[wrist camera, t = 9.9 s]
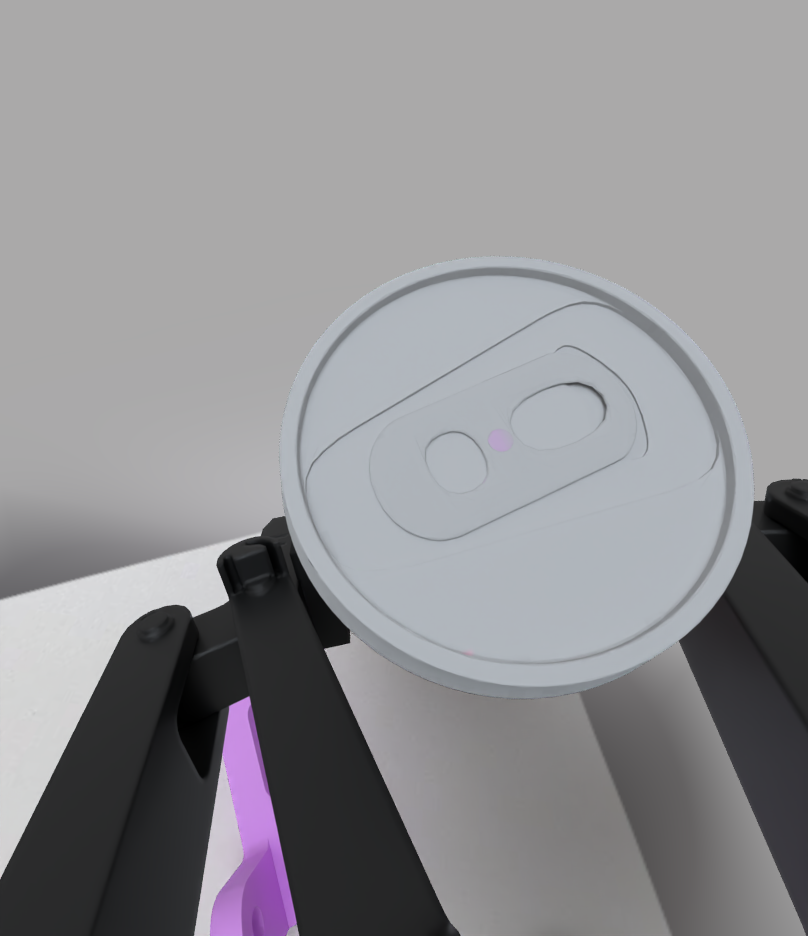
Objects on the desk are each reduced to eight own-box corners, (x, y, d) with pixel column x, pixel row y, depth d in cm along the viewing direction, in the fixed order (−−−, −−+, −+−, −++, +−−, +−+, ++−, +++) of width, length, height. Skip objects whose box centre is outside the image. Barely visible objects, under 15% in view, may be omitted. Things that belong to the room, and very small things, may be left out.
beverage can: (546, 621, 19) (890, 548, 5) (406, 693, 18) (385, 827, 4) (473, 489, 22) (584, 197, 8) (345, 547, 21) (207, 335, 7)
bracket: (366, 878, 26) (352, 955, 19) (270, 925, 25) (223, 1022, 19) (298, 648, 30) (269, 648, 24) (216, 683, 29) (162, 692, 23)
